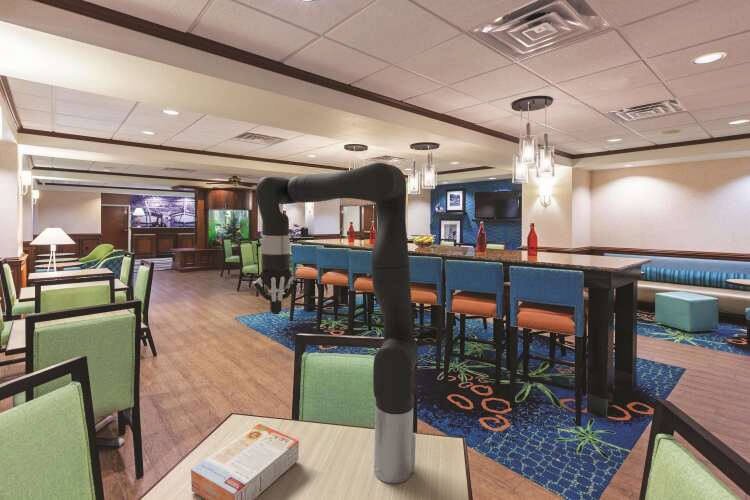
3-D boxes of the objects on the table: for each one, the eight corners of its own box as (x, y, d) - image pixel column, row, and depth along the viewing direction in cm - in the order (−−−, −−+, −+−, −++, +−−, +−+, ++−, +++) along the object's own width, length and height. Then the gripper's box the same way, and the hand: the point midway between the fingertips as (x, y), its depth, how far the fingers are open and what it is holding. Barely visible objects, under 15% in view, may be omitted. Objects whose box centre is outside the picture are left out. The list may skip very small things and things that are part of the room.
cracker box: (259, 442, 105) (189, 492, 87) (259, 422, 104) (189, 467, 86) (299, 461, 99) (233, 519, 80) (299, 440, 98) (233, 493, 80)
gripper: (254, 254, 99) (255, 320, 101) (303, 252, 106) (303, 314, 108) (247, 251, 105) (248, 313, 107) (294, 249, 112) (294, 308, 114)
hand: (275, 313), depth 108 cm, fingers closed
